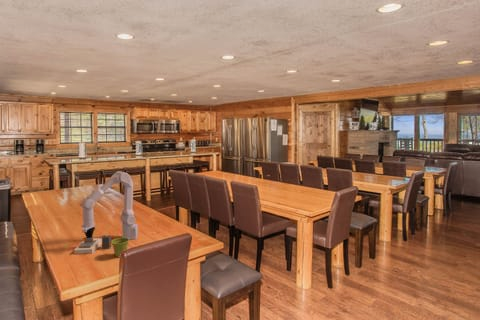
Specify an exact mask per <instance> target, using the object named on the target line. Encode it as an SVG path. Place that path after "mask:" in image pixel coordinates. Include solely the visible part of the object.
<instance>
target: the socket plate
mask: <svg viewBox="0 0 480 320" xmlns="http://www.w3.org/2000/svg"><path fill="white" fill-rule="evenodd" d="M92 238H93V242H94V244H93V245H92V246H91V247H85V248H79V246H80V245H81V244H82V243H84V240H82V242H81V243H80V244H78V245H77V246H76V247H75V248H74V249H73V254H74V255H81V254H82V255H83V254H84V255H86V254H87V255H88V254H94V252H95V251H96V250H97V249H98V248H99V247H100V246H102V237H98V238H95V237H92Z"/></svg>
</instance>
